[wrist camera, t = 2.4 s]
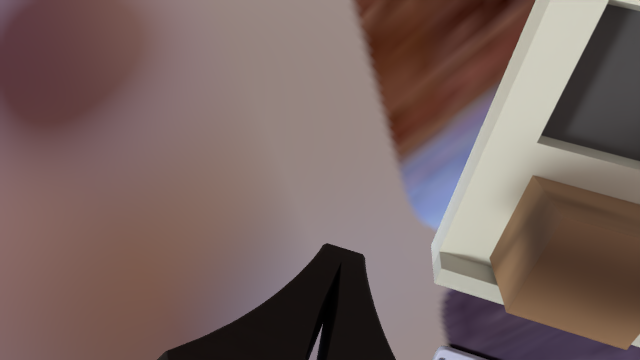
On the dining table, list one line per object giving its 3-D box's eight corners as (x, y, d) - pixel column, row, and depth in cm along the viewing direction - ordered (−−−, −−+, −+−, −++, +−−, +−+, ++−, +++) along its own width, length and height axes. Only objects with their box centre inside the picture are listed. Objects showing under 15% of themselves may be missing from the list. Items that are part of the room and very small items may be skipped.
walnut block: (586, 287, 19) (626, 349, 16) (489, 258, 20) (506, 312, 16) (643, 205, 17) (705, 257, 14) (532, 175, 18) (563, 216, 14)
